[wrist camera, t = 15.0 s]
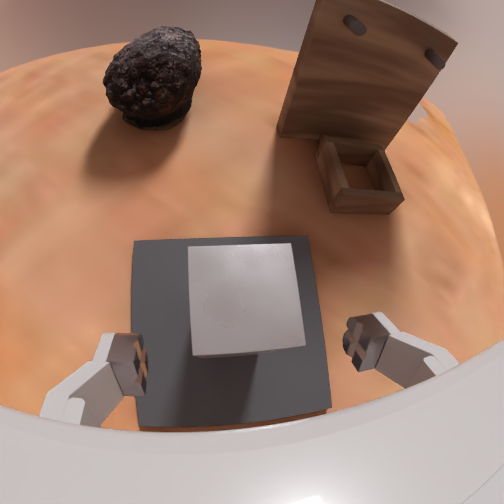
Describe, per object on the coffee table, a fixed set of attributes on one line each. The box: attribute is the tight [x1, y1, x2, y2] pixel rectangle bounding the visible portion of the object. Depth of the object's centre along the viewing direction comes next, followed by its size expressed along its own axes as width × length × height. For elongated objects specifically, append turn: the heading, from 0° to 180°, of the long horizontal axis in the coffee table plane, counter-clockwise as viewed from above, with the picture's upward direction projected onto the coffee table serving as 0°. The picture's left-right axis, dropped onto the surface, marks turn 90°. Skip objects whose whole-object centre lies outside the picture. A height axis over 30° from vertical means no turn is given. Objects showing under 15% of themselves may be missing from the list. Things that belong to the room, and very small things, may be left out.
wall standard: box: [277, 0, 458, 214], centre depth 20 cm, size 12×14×18 cm
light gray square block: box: [188, 243, 306, 358], centre depth 14 cm, size 4×4×10 cm
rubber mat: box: [131, 236, 332, 427], centre depth 19 cm, size 14×14×1 cm
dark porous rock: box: [103, 26, 202, 130], centre depth 24 cm, size 10×18×10 cm, turn 7°
